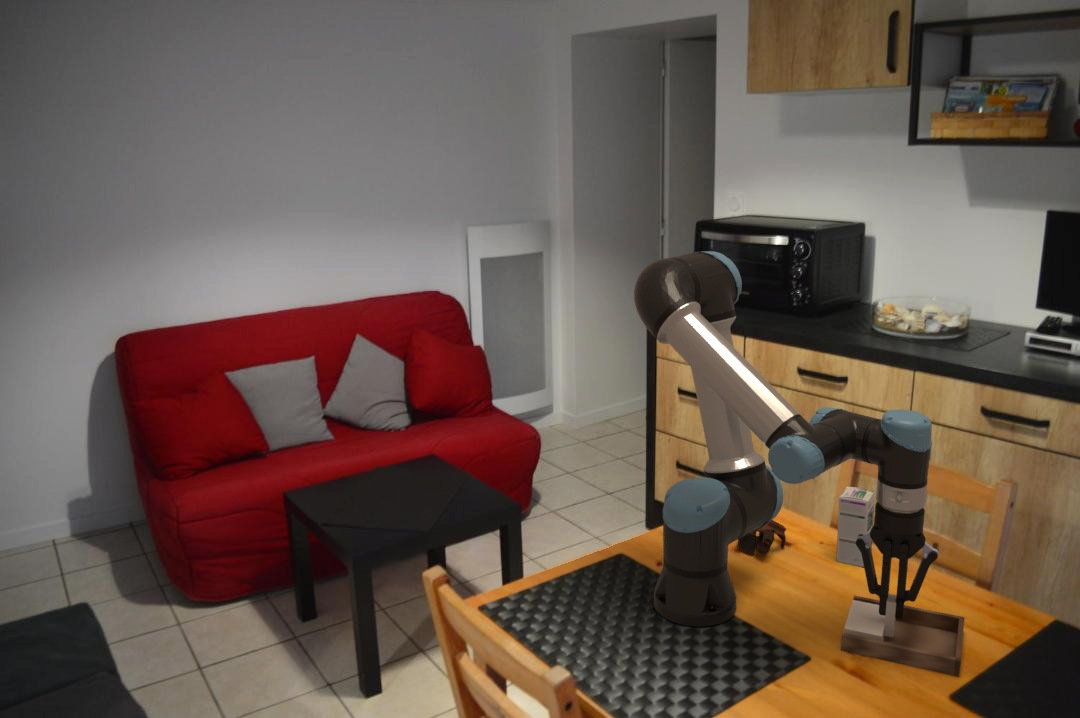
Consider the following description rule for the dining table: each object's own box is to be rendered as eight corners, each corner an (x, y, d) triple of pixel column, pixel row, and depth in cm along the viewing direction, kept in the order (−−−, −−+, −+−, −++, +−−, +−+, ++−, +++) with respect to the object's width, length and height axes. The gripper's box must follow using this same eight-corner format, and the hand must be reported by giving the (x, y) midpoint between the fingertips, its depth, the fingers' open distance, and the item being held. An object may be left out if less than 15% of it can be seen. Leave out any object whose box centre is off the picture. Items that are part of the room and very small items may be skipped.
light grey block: (843, 644, 151) (844, 628, 150) (851, 614, 160) (852, 599, 159) (880, 652, 148) (882, 636, 148) (887, 622, 157) (888, 606, 156)
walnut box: (840, 656, 150) (841, 635, 149) (852, 615, 162) (854, 595, 161) (958, 683, 142) (960, 661, 141) (962, 637, 154) (964, 617, 153)
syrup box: (865, 568, 178) (869, 500, 174) (834, 561, 181) (838, 495, 177) (871, 556, 183) (876, 490, 179) (842, 549, 186) (846, 485, 182)
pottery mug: (729, 541, 192) (745, 506, 192) (768, 560, 192) (785, 525, 192) (742, 554, 180) (759, 517, 180) (784, 574, 180) (802, 536, 180)
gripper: (855, 507, 145) (846, 635, 152) (942, 520, 140) (929, 653, 146) (861, 489, 152) (852, 613, 158) (945, 502, 146) (932, 629, 153)
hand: (889, 632), depth 152 cm, fingers closed
